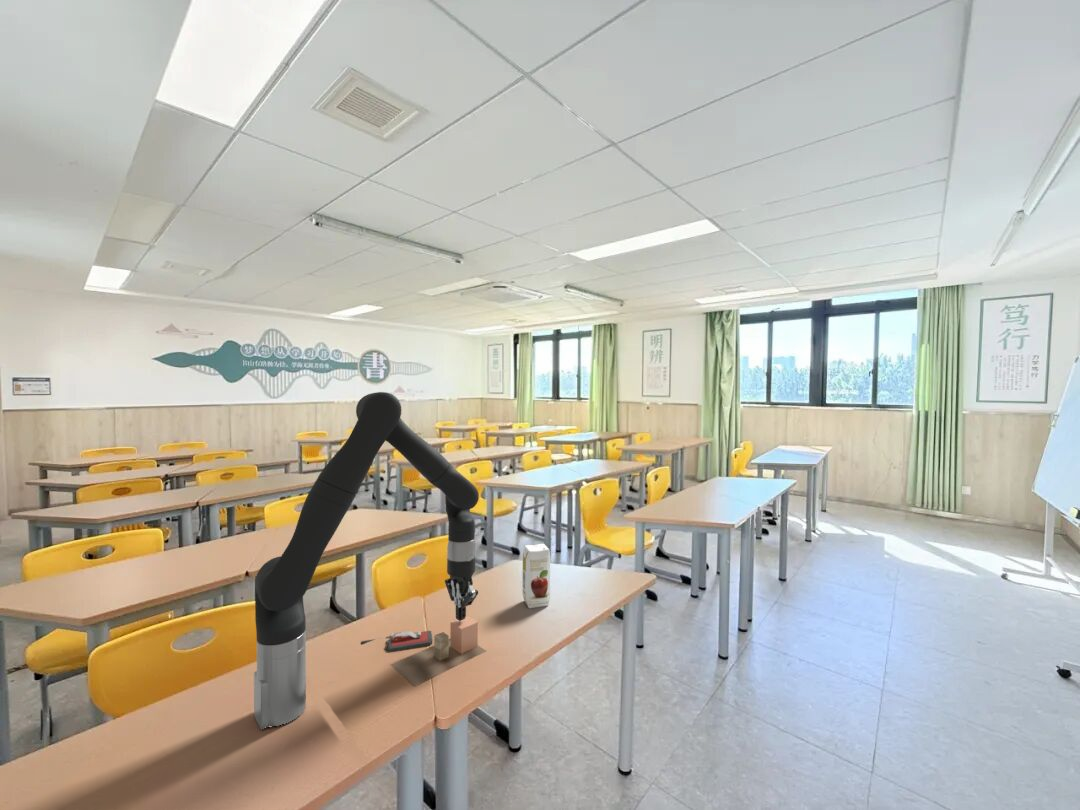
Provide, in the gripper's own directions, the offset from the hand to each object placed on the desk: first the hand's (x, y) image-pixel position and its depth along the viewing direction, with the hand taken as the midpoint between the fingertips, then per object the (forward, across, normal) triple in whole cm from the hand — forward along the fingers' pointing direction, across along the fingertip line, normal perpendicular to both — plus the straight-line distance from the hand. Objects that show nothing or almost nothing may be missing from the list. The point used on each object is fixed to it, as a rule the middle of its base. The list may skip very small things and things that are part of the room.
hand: (460, 619), depth 121 cm
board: (+9, +1, -7) cm, 11 cm away
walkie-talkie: (+10, -14, -11) cm, 20 cm away
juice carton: (+9, -6, +35) cm, 36 cm away
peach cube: (+7, +1, +1) cm, 7 cm away
